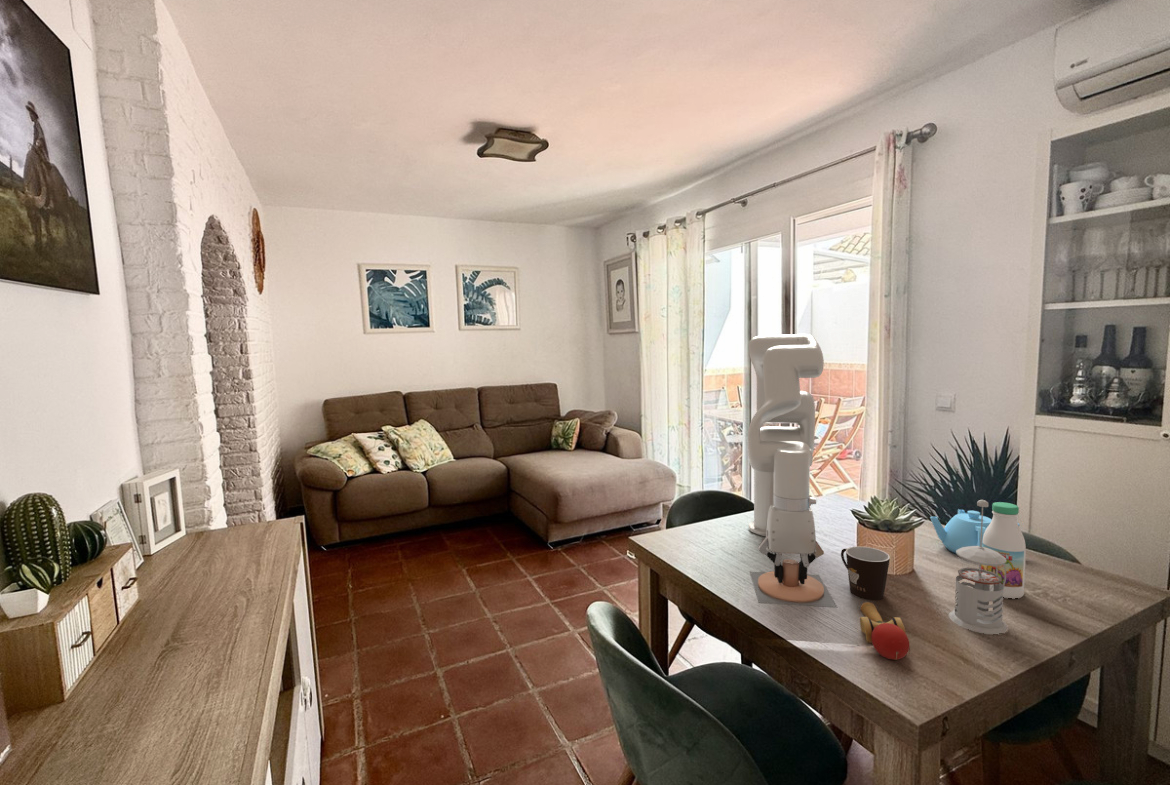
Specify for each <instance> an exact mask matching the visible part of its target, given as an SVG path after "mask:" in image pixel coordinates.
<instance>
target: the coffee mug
mask: <svg viewBox="0 0 1170 785" xmlns="http://www.w3.org/2000/svg"><path fill="white" fill-rule="evenodd" d="M844 555H845V556H846V558H845V556H844ZM840 558H841V560H842V563H843V565H844V566H845V568H846V569H847V573H848V574H847V576H848V584H849V592H850V594H852V596H854V597H856V598H859V599H862V600H866V601H880V600H882V599H883V598H884V596H885V590H886V584H887V580H888V579H887V578H888V571H889V566H890V560H891V556H890V555H889V553H887V552H886V551H884V550H881V549H878V548H874V547H869V546H862V545H861V546H850V547H847V548H842V549H841V552H840Z"/></svg>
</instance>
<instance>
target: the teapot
mask: <svg viewBox="0 0 1170 785" xmlns="http://www.w3.org/2000/svg"><path fill="white" fill-rule="evenodd" d="M965 511H966V510H964V509H959V508H958V509H957V514H955V515H953V517H952V518H950V519H949V521H947V523H946V525H945V526H944V527H943V525H942V523H941V522H940V520H939V517H938V516H930V517H929V518H930V521H931V523H932V525H933V528H934V530H935V532H936V535H937V537H938V539H939V540H940V542H941V543H942V545H944V546H945V548H946V549H947V550H948V551H949V552H951V553H953V552H954V553H953V554H956V555H957V553H956V550H958V549H960V548H962V547H968V546H980V540H981V516H982V514H981V512H980V511H977V510H967V512H965ZM991 521H992V518H990V517H988V516H985V515H983V525H982V541H983V535H984V533H985V530H986V529H987V527H988V526H989V524H990V523H991ZM1018 526H1019V527H1020V526H1021V525H1020V523H1019V522H1018Z"/></svg>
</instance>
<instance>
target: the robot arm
mask: <svg viewBox="0 0 1170 785" xmlns="http://www.w3.org/2000/svg"><path fill="white" fill-rule="evenodd" d="M748 355H749V358H750V361H751V364H752V365H753V368H754V371H755V374H756V412H755V414H754V415H753V416H752V418H751V420H750V423H749V426H748V433H747V441H748V442H747V443H748V444H747V445H748V460H749V461H748V462H749V464H750V467H751V468H752V469H753V473H754V474H753V478H754V479H753V480H754V483H753V498H754V499H753V501H754V502H753V508H754V509H753V521H751V522H749V523H748V530H749V531H750V532H752V533H753V534H755V535H759V536H761V537H762V536H763V537H764V539H763V541H762V542H761V543H760V544H759V546H758V551H759V553H761V554H762V555H765V556H766V557H767V558H768V559H769V560H770V561H771V562H772V563H773V564H774V565H773V566H774V567H773V568H774V569H773V571H774V576H775V578H777V579H778V582H779V583H782V581H783V567H782V558H783V554H790V555H791V554H795V555H799V558H800V560H799V561H798V562H799V581H800V583H801V584H804V583H805V579H807V574H808V568H809V567H810V565H811V564H812V563H813V562H814V561H815V560H816V559H817V558H819V557H821V556H823V555H825V551H824V550H823V547H821V546H820V543H819V542H818V541H817V540H816V539H817V538H816V537H817V536H816V535H817V534H816V526H815V518H814V512H813V509H812V507H811V506H813V505H817V499H816V498H815V497H811V496H810V472H811V470H810V468H811V467H812V465H813V461H814V459H813V458H814V457H813V456H814V455H813V454H814V450H815V431H816V426H815V425H816V404H815V400H814V397H813V395H812V394H811V393H810V392H808V391H805V390H801V386H800V385H801V383H800V379H815V378H819V377H820V376H821V375H822V373H823V371H824V365H825V361H824V360H825V359H824V355H823V350H822V348H821V346H820V345H819V343H818V341H817V340H816V338H815V337H814V336H813V335H811V334H808V333H797V334H796V333H795V334H793V333H791V334H782V333H781V334H779V333H777V334H764V335H763V334H762V335H757V336H754V337H752V338H751V339H750V340H749V343H748ZM767 423H769V424H796V425H797V426H775V425H773V426H771V425H770V426H768V425H767V426H764V425H765V424H767Z"/></svg>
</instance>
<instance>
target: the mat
mask: <svg viewBox="0 0 1170 785" xmlns="http://www.w3.org/2000/svg"><path fill="white" fill-rule="evenodd" d="M764 573H767V571H751V570H750V571H749V574H750V578H751V582H752V584H753V588H754V591H755V595H756V599H757V601H758V603H759V604H769V605H771V604H773V605H774V604H775V605H788V606H789V605H790V606H805V607H820V608H821V607H824V608H838V607H839V606H838V605H837V603H836V602H835V600H834V598H833V596H832V595H831V593H830V592H829V590H828V588H827V586H826V584H825V583H824V581H823V580H822V578H821V576H820V575H819V574H812V573H811V574H809V573H807V575H808V576H810V577H813V578H815V579H816V580H818V581H819V582H820V583H822V585H823V586H824V595H823V597H822V598H821V599H819V600H817V601H813V602H807V603H796V602H788V601H783V600H779V599H776V598H773V597H771V596H769V595H767V594H765V593H764V592H762V591H761V590H760V588H759V586H758V578H759V577H760V576H761V575H762V574H764Z"/></svg>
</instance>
